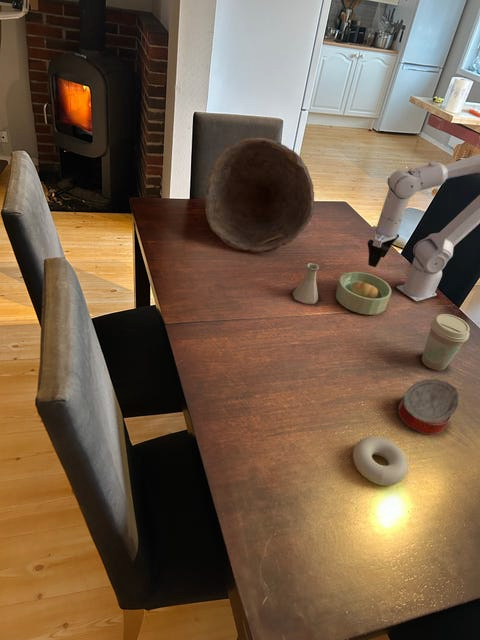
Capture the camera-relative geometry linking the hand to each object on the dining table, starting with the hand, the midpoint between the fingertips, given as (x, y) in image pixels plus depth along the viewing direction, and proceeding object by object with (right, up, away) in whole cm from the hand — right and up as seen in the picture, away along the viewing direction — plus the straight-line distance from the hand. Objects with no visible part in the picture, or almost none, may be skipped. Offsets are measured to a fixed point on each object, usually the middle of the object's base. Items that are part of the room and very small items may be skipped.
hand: (376, 260), depth 134 cm
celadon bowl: (-5, -12, -1) cm, 13 cm away
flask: (-21, -11, -2) cm, 23 cm away
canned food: (-1, -37, -34) cm, 51 cm away
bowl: (-32, +11, +24) cm, 41 cm away
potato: (-5, -11, -1) cm, 12 cm away
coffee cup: (+8, -27, -19) cm, 34 cm away
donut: (-13, -44, -46) cm, 65 cm away
